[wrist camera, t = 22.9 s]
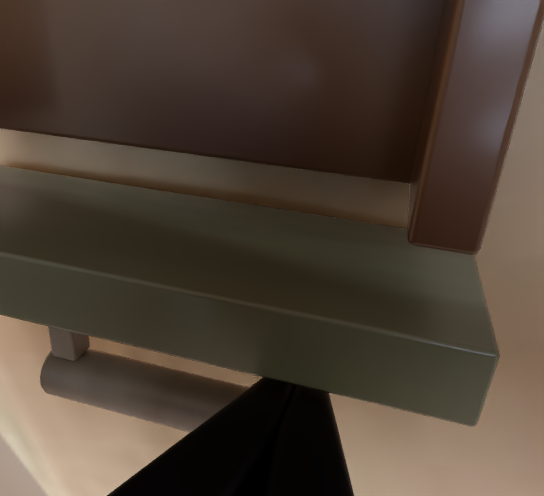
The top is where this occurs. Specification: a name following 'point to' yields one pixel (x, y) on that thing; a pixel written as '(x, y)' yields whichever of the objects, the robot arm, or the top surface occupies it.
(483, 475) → the top surface
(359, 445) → the top surface
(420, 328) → the drawer
